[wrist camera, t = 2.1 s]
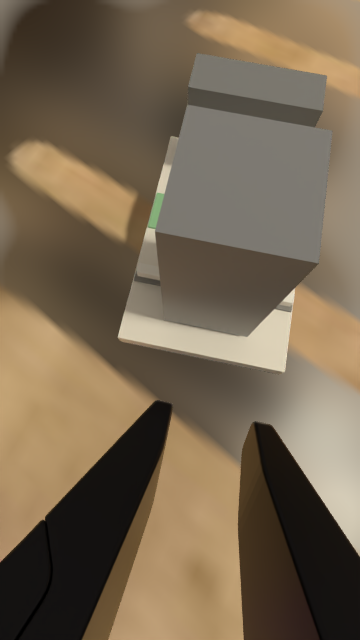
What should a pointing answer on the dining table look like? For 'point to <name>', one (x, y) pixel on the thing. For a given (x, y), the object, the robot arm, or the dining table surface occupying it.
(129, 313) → the plate
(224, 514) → the dining table surface
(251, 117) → the gray block
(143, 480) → the robot arm
